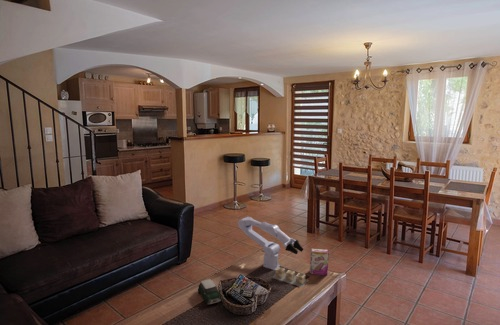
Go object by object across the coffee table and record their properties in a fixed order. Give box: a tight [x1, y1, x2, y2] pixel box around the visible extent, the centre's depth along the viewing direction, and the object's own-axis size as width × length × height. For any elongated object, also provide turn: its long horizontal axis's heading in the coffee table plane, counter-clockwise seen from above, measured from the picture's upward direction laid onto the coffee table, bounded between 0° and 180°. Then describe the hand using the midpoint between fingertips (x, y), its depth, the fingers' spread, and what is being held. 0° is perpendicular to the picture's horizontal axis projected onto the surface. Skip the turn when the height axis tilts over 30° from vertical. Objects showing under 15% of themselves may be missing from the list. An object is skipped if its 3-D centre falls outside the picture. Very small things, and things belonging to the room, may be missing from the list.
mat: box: [271, 272, 309, 288], centre depth 199 cm, size 21×10×1 cm, turn 59°
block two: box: [295, 272, 306, 285], centre depth 195 cm, size 4×4×5 cm
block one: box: [275, 266, 286, 278], centre depth 202 cm, size 4×4×5 cm
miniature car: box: [197, 278, 222, 306], centre depth 178 cm, size 9×18×8 cm, turn 28°
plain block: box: [285, 269, 296, 281], centre depth 198 cm, size 4×4×4 cm
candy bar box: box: [309, 248, 330, 276], centre depth 205 cm, size 11×5×16 cm, turn 84°
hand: (299, 251), depth 199 cm, fingers open, 7 cm apart
